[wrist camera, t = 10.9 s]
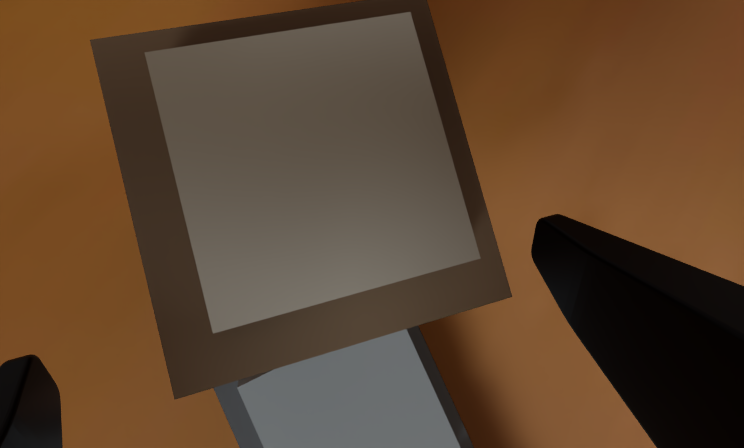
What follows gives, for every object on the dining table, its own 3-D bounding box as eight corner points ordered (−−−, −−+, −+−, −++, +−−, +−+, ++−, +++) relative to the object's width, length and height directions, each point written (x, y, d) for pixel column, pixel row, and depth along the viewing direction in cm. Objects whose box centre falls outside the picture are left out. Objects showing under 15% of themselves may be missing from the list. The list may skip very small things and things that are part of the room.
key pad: (526, 593, 21) (578, 649, 18) (362, 707, 19) (385, 794, 16) (319, 139, 22) (331, 109, 18) (141, 208, 20) (119, 190, 17)
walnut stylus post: (353, 298, 19) (542, 296, 7) (224, 335, 18) (164, 413, 6) (321, 176, 19) (443, -42, 7) (192, 204, 18) (68, 6, 6)
